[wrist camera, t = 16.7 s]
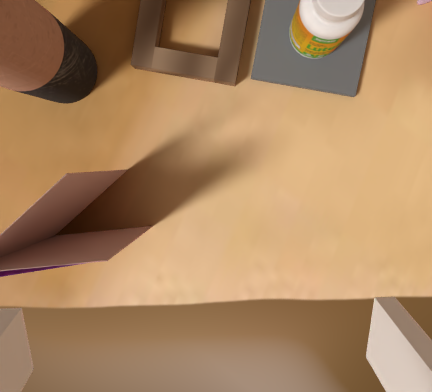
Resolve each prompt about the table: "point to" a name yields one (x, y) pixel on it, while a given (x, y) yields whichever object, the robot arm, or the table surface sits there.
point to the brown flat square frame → (184, 61)
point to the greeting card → (55, 221)
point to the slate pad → (302, 66)
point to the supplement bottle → (323, 25)
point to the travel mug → (42, 54)
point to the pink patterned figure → (423, 1)
